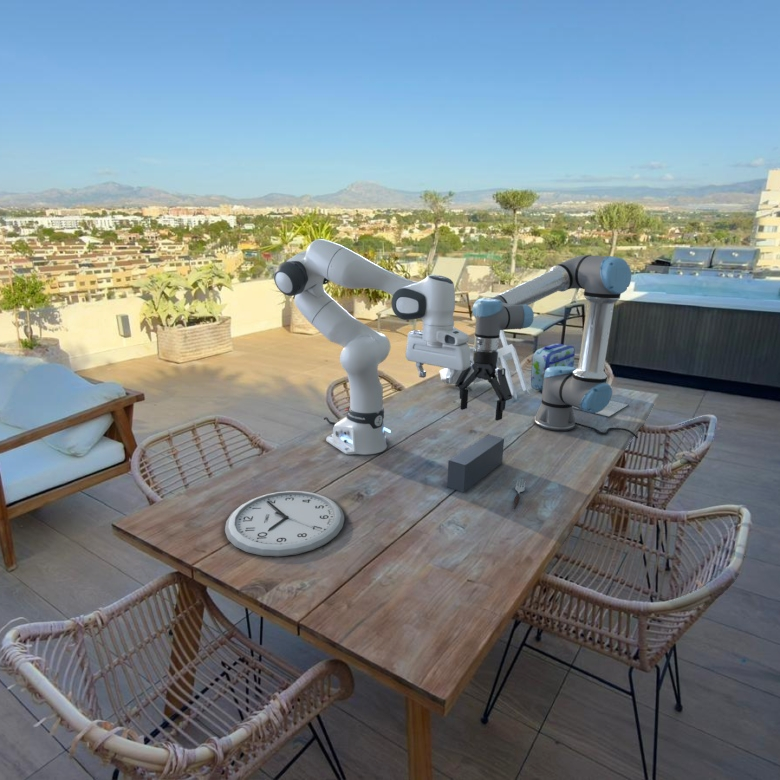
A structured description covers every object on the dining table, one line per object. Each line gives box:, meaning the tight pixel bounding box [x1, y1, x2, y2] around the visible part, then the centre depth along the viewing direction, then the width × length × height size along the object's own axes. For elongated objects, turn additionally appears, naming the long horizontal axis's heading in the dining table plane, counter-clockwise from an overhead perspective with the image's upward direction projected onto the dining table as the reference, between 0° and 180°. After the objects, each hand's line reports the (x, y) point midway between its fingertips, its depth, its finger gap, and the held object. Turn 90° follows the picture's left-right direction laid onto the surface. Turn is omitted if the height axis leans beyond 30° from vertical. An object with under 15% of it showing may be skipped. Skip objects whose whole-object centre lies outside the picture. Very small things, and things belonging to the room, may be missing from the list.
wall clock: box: [224, 490, 345, 557], centre depth 134 cm, size 30×2×30 cm
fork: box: [513, 478, 526, 510], centre depth 148 cm, size 3×16×2 cm, turn 160°
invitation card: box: [573, 400, 629, 418], centre depth 226 cm, size 21×1×15 cm
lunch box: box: [530, 343, 576, 391], centre depth 249 cm, size 26×11×21 cm, turn 134°
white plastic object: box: [438, 330, 531, 400], centre depth 245 cm, size 37×45×31 cm
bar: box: [446, 433, 505, 493], centre depth 161 cm, size 26×6×9 cm, turn 143°
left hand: (435, 380), depth 154 cm, fingers open, 8 cm apart
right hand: (480, 414), depth 169 cm, fingers open, 13 cm apart
